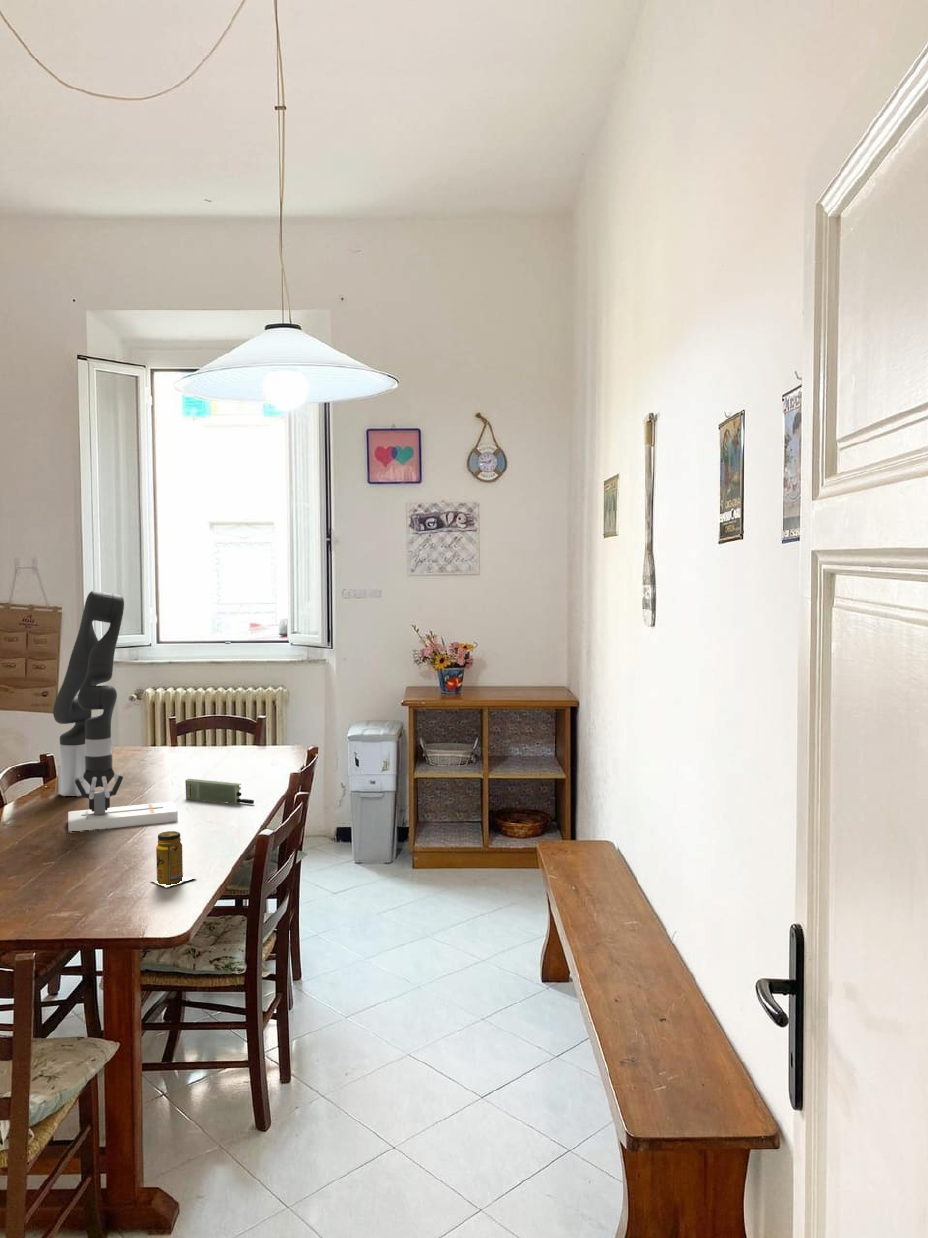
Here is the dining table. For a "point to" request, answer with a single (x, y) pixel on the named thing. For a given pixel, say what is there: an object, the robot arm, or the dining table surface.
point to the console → (123, 816)
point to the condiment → (169, 858)
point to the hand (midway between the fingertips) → (99, 810)
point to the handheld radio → (214, 791)
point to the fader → (99, 802)
